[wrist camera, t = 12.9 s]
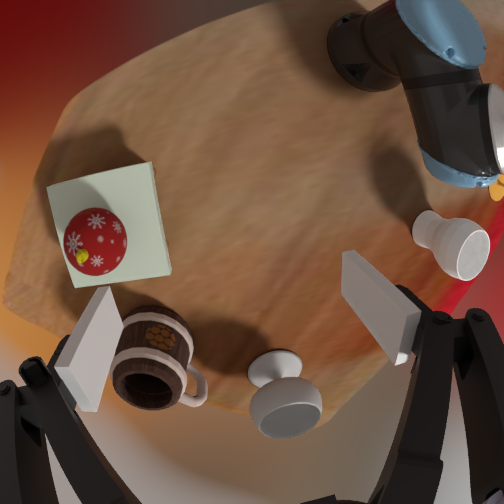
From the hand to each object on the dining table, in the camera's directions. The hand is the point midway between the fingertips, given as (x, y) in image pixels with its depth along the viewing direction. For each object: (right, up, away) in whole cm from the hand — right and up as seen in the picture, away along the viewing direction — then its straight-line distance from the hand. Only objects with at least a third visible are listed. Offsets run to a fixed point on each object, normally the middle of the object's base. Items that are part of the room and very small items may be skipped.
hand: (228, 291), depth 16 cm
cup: (+37, +7, +39) cm, 54 cm away
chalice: (+6, -23, +46) cm, 52 cm away
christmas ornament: (-19, +5, +22) cm, 30 cm away
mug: (-16, -15, +40) cm, 45 cm away
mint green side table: (-20, +8, +29) cm, 36 cm away
